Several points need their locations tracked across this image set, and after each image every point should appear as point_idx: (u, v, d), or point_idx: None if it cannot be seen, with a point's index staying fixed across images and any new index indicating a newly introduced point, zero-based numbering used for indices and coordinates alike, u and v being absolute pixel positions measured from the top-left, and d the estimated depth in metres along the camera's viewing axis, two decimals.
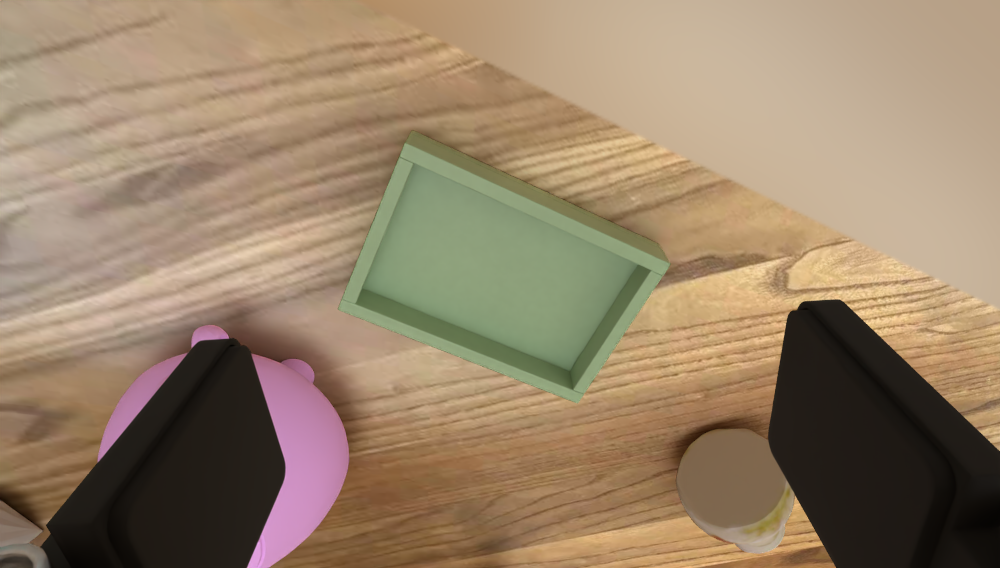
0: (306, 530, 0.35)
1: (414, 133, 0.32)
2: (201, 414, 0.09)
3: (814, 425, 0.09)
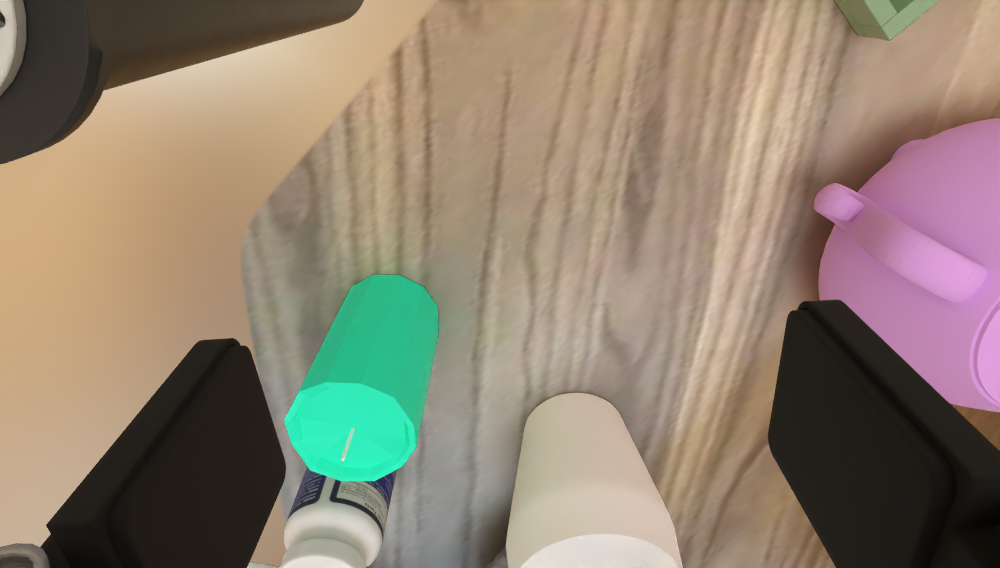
0: None
1: None
2: (201, 414, 0.09)
3: (814, 425, 0.09)
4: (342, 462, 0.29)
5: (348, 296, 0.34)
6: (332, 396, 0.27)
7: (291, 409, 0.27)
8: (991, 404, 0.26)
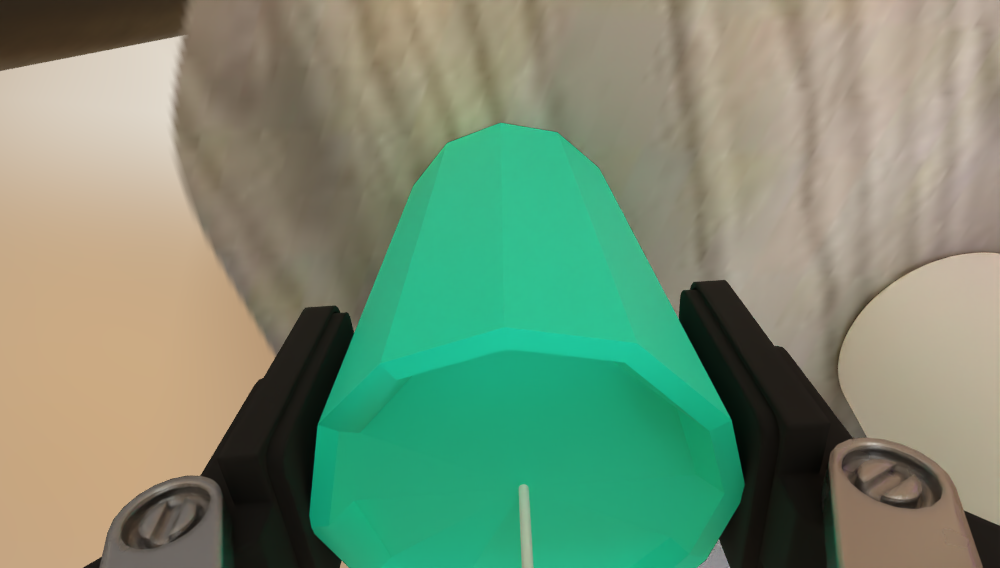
0: None
1: None
2: (322, 370, 0.09)
3: None
4: None
5: (410, 197, 0.16)
6: (426, 407, 0.08)
7: (315, 487, 0.08)
8: None
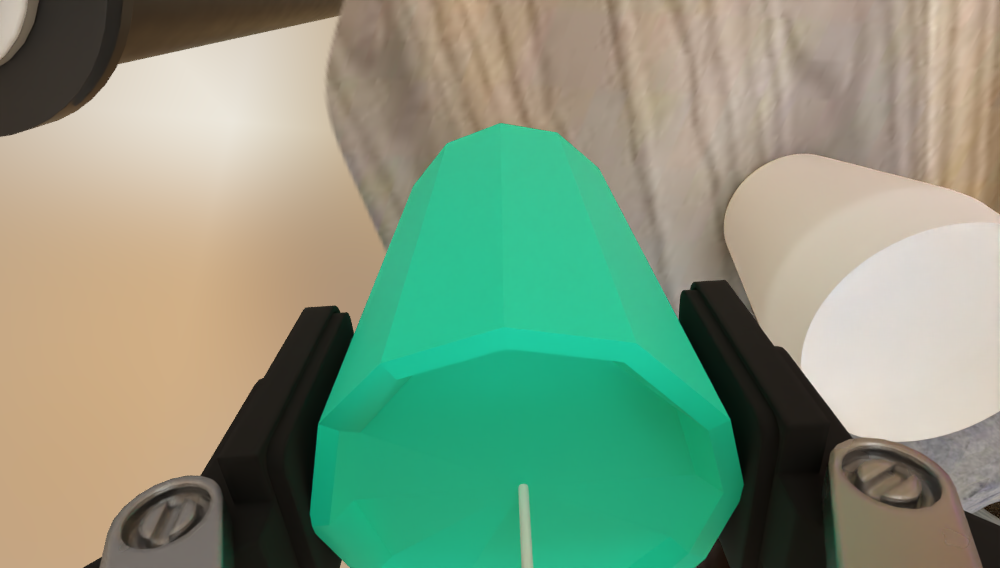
0: None
1: None
2: (322, 370, 0.09)
3: None
4: None
5: (410, 197, 0.16)
6: (426, 406, 0.08)
7: (316, 486, 0.08)
8: None
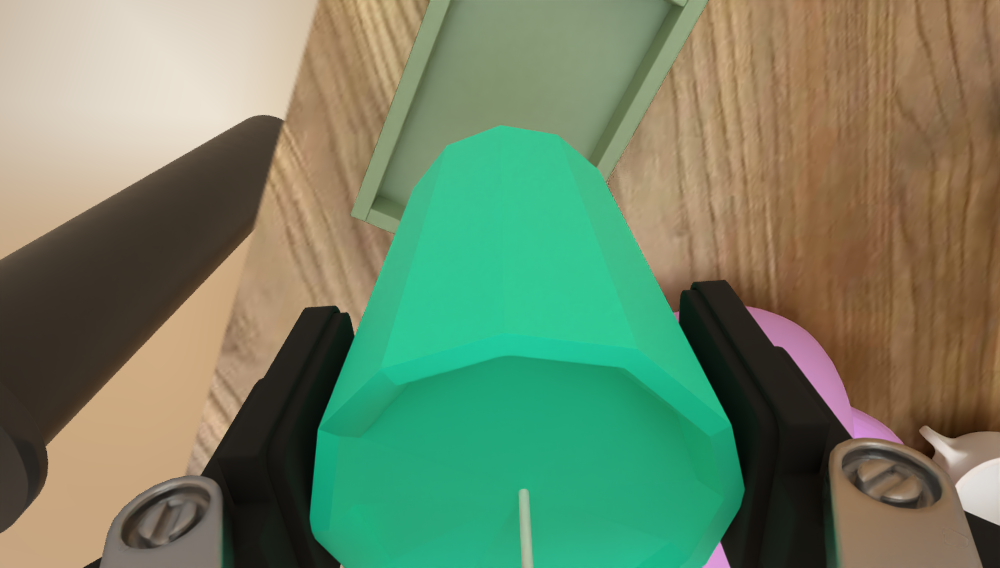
0: None
1: None
2: (322, 370, 0.09)
3: None
4: None
5: (410, 200, 0.16)
6: (426, 412, 0.08)
7: (316, 492, 0.08)
8: None
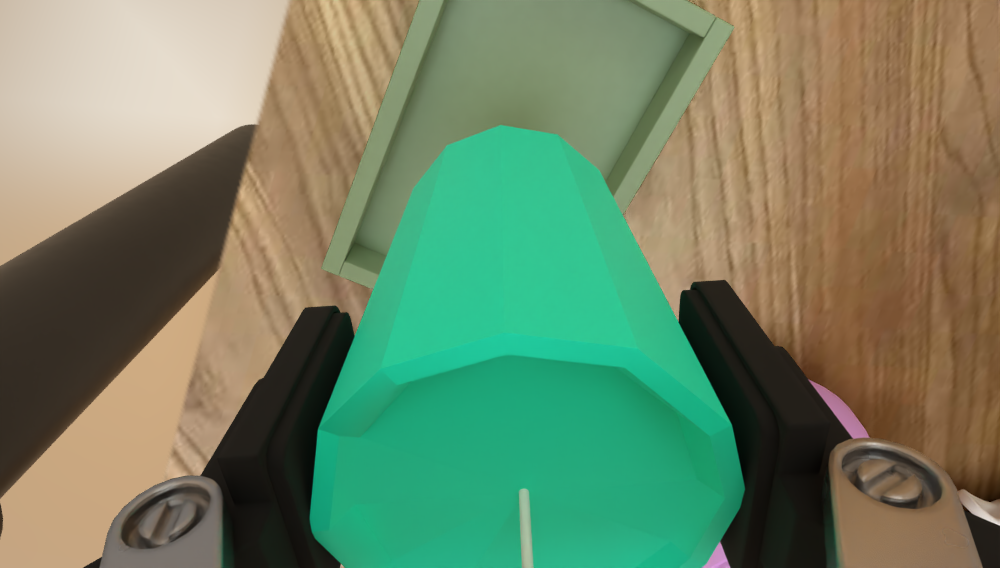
0: None
1: None
2: (323, 370, 0.09)
3: None
4: None
5: (410, 199, 0.16)
6: (426, 412, 0.08)
7: (316, 491, 0.08)
8: None
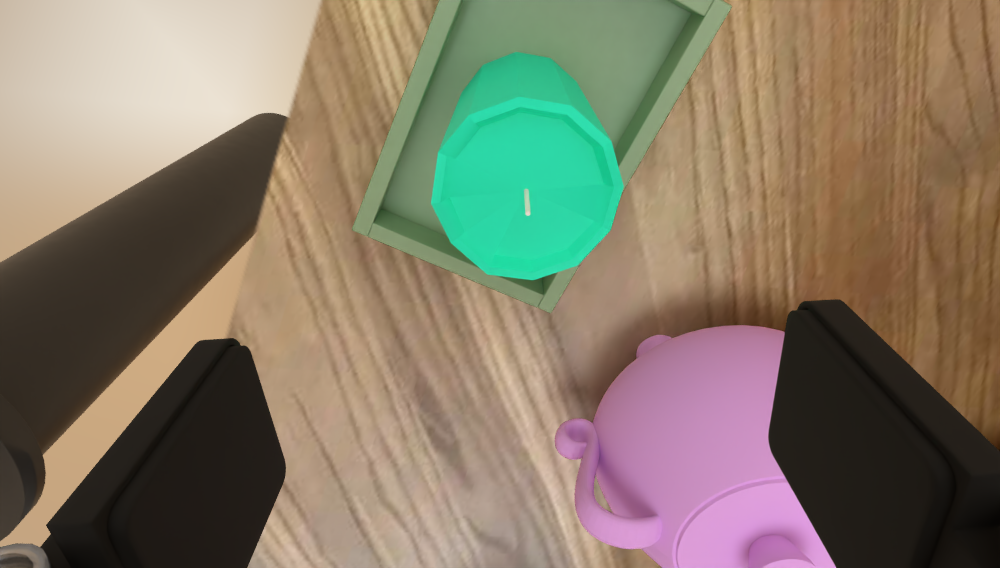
0: None
1: None
2: (201, 414, 0.09)
3: (814, 425, 0.09)
4: (526, 254, 0.20)
5: (461, 95, 0.26)
6: (484, 145, 0.18)
7: (435, 182, 0.19)
8: None
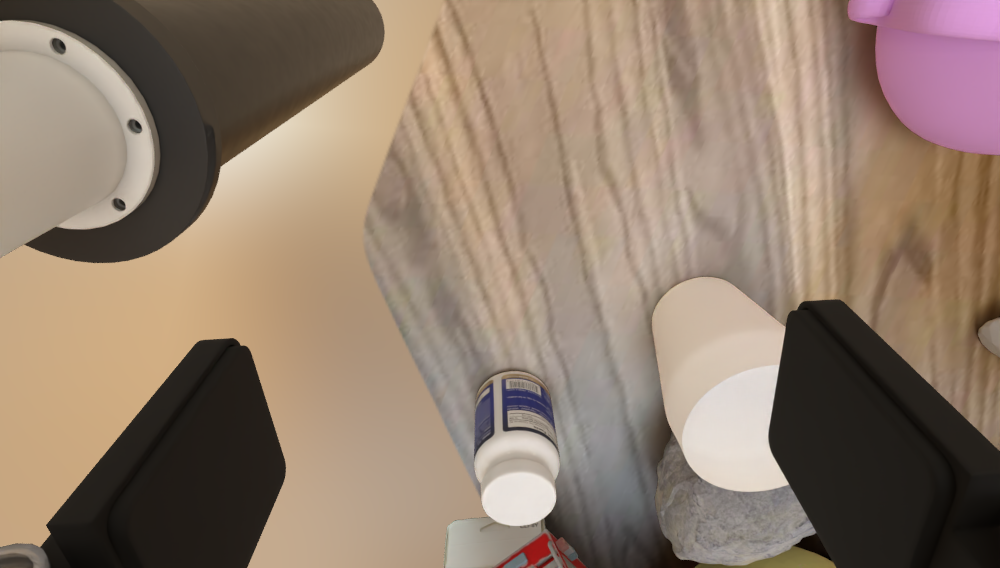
0: None
1: None
2: (201, 414, 0.09)
3: (814, 425, 0.09)
4: None
5: None
6: None
7: None
8: None
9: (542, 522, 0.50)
